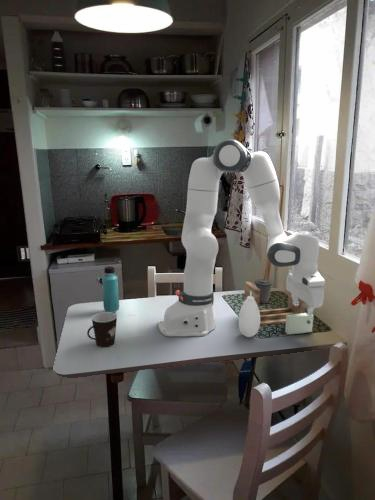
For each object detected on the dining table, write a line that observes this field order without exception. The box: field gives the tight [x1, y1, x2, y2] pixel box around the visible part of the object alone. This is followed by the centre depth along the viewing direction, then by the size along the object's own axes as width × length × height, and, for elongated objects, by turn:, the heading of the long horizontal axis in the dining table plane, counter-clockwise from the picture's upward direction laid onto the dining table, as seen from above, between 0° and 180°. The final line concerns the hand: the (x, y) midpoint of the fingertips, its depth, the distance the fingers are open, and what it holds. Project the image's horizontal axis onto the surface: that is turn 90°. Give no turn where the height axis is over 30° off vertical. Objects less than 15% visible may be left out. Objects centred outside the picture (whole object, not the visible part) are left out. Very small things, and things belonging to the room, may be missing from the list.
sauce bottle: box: [238, 292, 261, 338], centre depth 139 cm, size 8×8×18 cm
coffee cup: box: [254, 278, 273, 304], centre depth 173 cm, size 8×8×10 cm
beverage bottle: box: [101, 266, 120, 313], centre depth 158 cm, size 6×7×20 cm
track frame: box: [243, 281, 306, 326], centre depth 154 cm, size 22×10×15 cm, turn 104°
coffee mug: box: [86, 311, 118, 349], centre depth 132 cm, size 12×9×10 cm
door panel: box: [284, 312, 315, 335], centre depth 143 cm, size 10×3×7 cm, turn 104°
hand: (302, 309), depth 142 cm, fingers open, 8 cm apart
